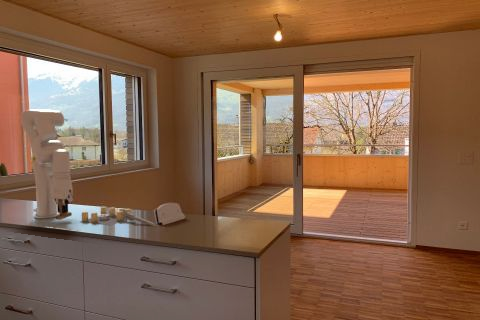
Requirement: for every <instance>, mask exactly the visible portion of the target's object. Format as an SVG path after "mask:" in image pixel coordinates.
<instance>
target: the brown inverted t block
mask: <svg viewBox="0 0 480 320" xmlns="http://www.w3.org/2000/svg"><path fill="white" fill-rule="evenodd" d="M65 201H66V200H65ZM58 205H59V211H60V212H59V214H60V215H57V216H55V217H54V218H55V220H59V221H61V220H64V219H66V218H68V217H71V216H72V215H73V213H72V212H70V211H68V212H67V213H62V205H63V201H62V199H60V200H58Z"/></svg>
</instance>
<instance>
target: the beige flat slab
mask: <svg viewBox="0 0 480 320" xmlns="http://www.w3.org/2000/svg"><path fill="white" fill-rule="evenodd" d="M153 214H154V215H153V216H154V220H155V221H154V222H155V225H158V224H160V223H161V224H162V226H164V225H168V224H171V223H174V222H177V221H181V220H184V219H185V220H186V215H185V214H184V213H183V211H182V208H181V207H180V203H177V202H168V203H163V204H160V205H159V206H157V207H156V208H155V209H154V210H153Z"/></svg>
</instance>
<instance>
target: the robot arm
mask: <svg viewBox="0 0 480 320" xmlns="http://www.w3.org/2000/svg"><path fill="white" fill-rule="evenodd" d="M20 122H21V126H22V128H23V130H24V132H25V133H26V135H27V137H28V140H29V144H30V149H31V152H32V155H33V157H34V158H35V160H33V163H32V170H33V174H34V180H35V194H36V207H35V208H34V209H33V212H35V214H34V215H33V217H34V219H41V220H42V219H51V218H55V216H57V215H60V214H59V212H60V211H59V205H58V200H60V199H62V201H63V205H62V213H67V212H69V204H70V203H71V202H72V201H73V200H74V199H73V195H74V193H73V191H74V189H73V183H72V179H71V164H70V163H71V162H70V159H71V158H70V151H69V150H66V148H65V146H64V144H63V142H62V141H60V140H54V139H55V138H56V137H57V136H58V132H57V130H56V127H63V125H64V124H65V117H64V114H63V113H62V112H61V111H59V110H54V109H53V110H52V109H26V110H24V111H22V112H21V113H20ZM51 176H52V177H51ZM65 200H66V201H65Z"/></svg>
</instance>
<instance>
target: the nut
mask: <svg viewBox="0 0 480 320" xmlns="http://www.w3.org/2000/svg"><path fill="white" fill-rule="evenodd" d="M97 215H98V220H108V219H110V213H107V214H101V213H100V214H97Z"/></svg>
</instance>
